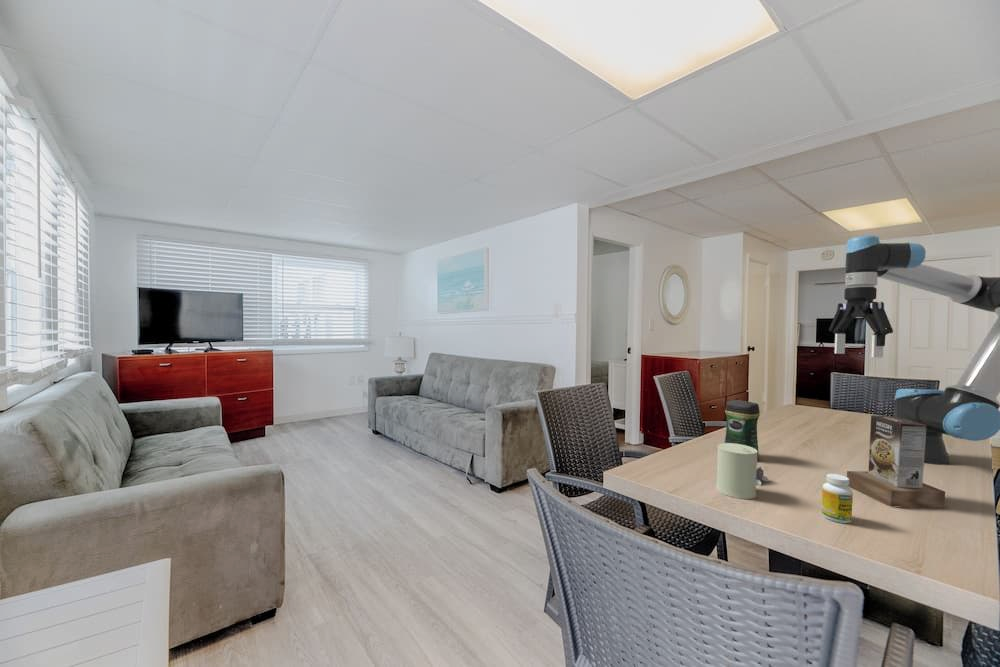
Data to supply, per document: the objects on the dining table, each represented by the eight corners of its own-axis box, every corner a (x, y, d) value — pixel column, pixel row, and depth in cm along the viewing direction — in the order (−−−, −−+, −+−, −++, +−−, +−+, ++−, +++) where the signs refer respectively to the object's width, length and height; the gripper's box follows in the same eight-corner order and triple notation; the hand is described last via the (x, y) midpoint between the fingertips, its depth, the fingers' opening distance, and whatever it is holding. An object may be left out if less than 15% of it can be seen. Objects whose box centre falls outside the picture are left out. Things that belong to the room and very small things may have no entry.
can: (742, 501, 102) (743, 453, 102) (708, 488, 110) (709, 443, 110) (764, 495, 106) (765, 449, 106) (730, 482, 115) (731, 439, 114)
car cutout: (766, 490, 111) (767, 474, 111) (740, 482, 116) (741, 466, 116) (788, 478, 120) (789, 463, 119) (763, 471, 125) (763, 456, 125)
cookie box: (866, 474, 112) (869, 414, 111) (891, 475, 111) (894, 415, 111) (896, 487, 103) (900, 423, 102) (924, 488, 102) (927, 424, 102)
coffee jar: (762, 458, 135) (764, 402, 135) (749, 462, 131) (751, 404, 131) (732, 450, 144) (734, 397, 143) (719, 454, 139) (721, 399, 139)
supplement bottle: (833, 511, 98) (835, 471, 97) (857, 522, 92) (859, 480, 92) (815, 513, 96) (817, 473, 96) (838, 525, 91) (840, 482, 91)
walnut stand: (893, 486, 114) (894, 471, 114) (944, 507, 101) (945, 491, 101) (846, 485, 114) (847, 471, 114) (890, 506, 101) (891, 490, 101)
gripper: (817, 289, 141) (815, 351, 141) (885, 283, 116) (881, 358, 117) (839, 290, 141) (837, 352, 141) (912, 283, 116) (908, 359, 117)
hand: (857, 355), depth 129 cm, fingers open, 13 cm apart
